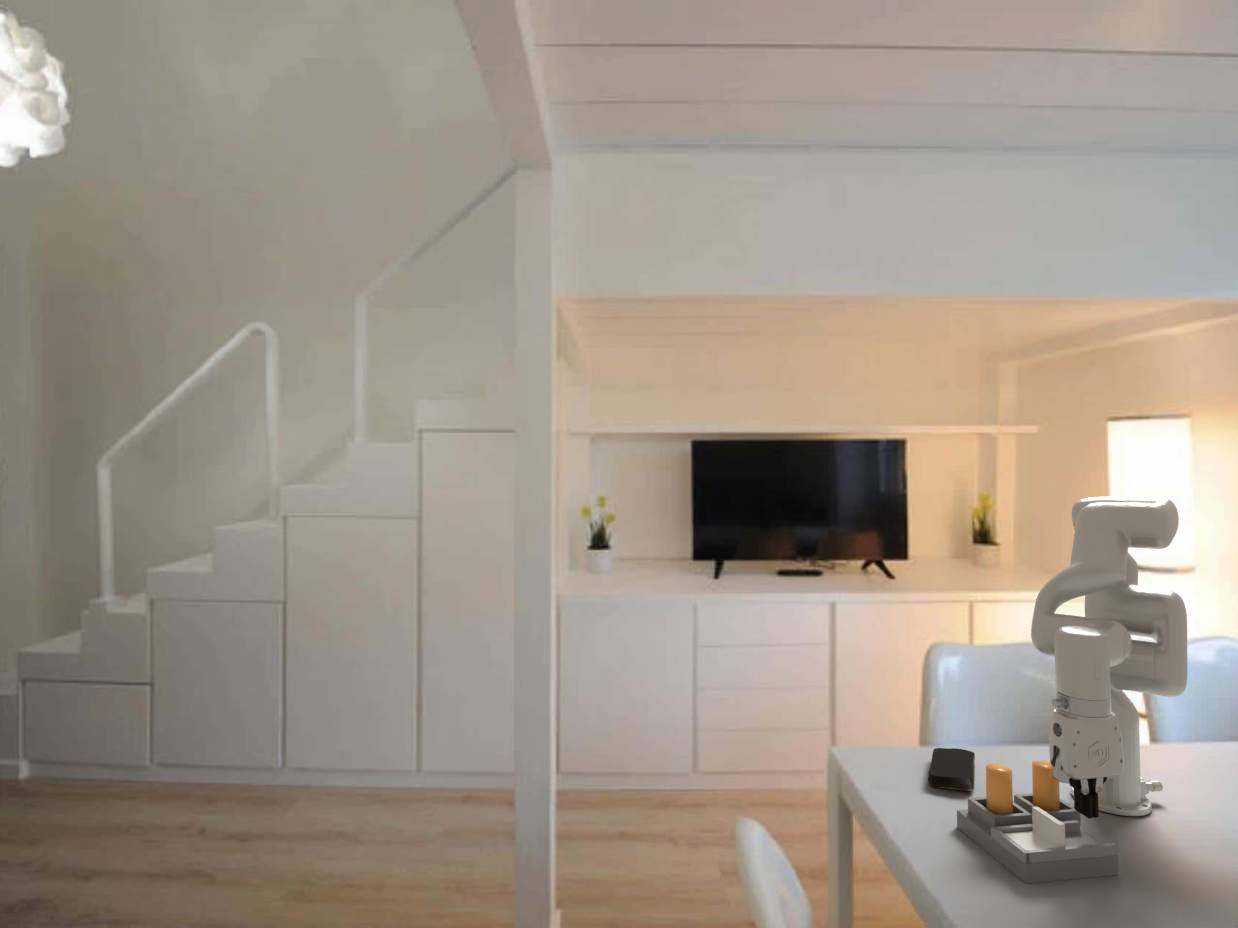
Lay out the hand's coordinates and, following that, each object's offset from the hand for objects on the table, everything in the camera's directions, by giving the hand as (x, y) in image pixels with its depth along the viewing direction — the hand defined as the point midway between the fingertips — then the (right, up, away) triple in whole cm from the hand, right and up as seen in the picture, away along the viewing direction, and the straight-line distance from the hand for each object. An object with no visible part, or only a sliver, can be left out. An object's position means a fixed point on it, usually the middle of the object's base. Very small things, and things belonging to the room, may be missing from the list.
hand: (1086, 813), depth 111 cm
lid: (-10, -4, -2) cm, 11 cm away
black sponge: (-7, -9, +30) cm, 32 cm away
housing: (-7, -7, +3) cm, 11 cm away
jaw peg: (-11, -5, +6) cm, 13 cm away
